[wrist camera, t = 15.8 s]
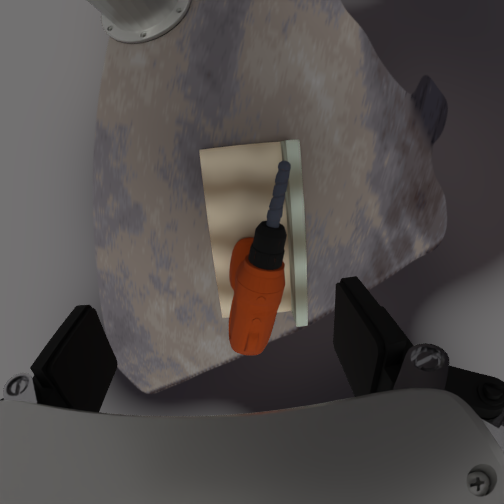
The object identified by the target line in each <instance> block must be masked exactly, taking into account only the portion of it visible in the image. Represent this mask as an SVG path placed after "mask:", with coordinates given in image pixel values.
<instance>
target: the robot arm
mask: <svg viewBox="0 0 504 504" xmlns="http://www.w3.org/2000/svg"><path fill="white" fill-rule="evenodd" d="M87 1H88V2H89V3H90V4H92V5H93V6H94V7H95V8H96V9H97V10H99V11H100V12H101V13H102V15H101V22H102V26H103V29H104V30H105V32H106V33H107V34H108V35H109V36H110V37H112V38H113V39H115V40H116V41H119V42H122V43H130V44H132V43H142V42H146V41H150V40H152V39H155V38H157V37H159V36H161V35H163V34H165V33H167V32H168V31H169V30H171V29H172V28H173V27H175V26H176V25H177V24H178V23H179V22H180V21H181V20H182V18H183V17H184V16H185V14H186V12H187V11H188V9H189V6H190V3H191V0H87ZM179 12H180V13H179ZM144 36H145V37H144ZM333 344H334V348H335V351H336V353H337V356H338V358H339V360H340V363H341V365H342V367H343V370H344V372H345V374H346V377H347V379H348V381H349V384H350V386H351V389H352V390H353V393H354V396H355V397H353V398H348V399H342V400H337V401H332V402H327V403H321V404H316V405H310V406H303V407H296V408H290V409H282V410H275V411H266V412H257V413H248V414H247V413H246V414H234V415H218V416H217V415H216V416H138V415H122V414H110V413H99V411H100V408H101V406H102V403H103V400H104V398H105V395H106V393H107V390H108V388H109V386H110V383H111V381H112V378H113V376H114V374H115V371H116V369H117V360H116V357H115V355H114V353H113V351H112V348H111V346H110V344H109V342H108V339H107V337H106V334H105V332H104V330H103V327H102V325H101V322H100V320H99V317H98V315H97V312H96V310H95V309H94V308H92V307H91V306H90V305H80V306H76V307H75V309H74V310H73V311H72V312H71V313H70V315H69V316H68V317H67V319H66V320H65V321H64V322H63V324H62V325H61V326H60V327H59V329H58V330H57V331H56V333H55V334H54V335H53V337H52V338H51V339H50V341H49V342H48V343H47V345H46V346H45V348H44V349H43V350H42V352H41V353H40V355H39V356H38V357H37V359H36V360H35V362H34V363H33V365H32V366H31V370H32V372H33V373H34V377H33V378H32V377H31V375H29V374H27V373H20V374H17V375H15V376H13V377H12V378H10V379H9V380H8V381H7V383H6V384H5V386H4V390H3V395H4V398H3V399H1V400H0V504H504V382H503V381H501V380H500V379H498V378H495V377H491V376H487V375H483V374H479V373H475V372H471V371H467V370H464V369H460V368H456V367H452V366H449V357H448V354H447V353H446V352H445V351H444V350H443V349H442V348H440V347H439V346H436V345H433V344H427V343H423V344H417V345H415V346H413V345H412V343H411V342H410V340H409V339H408V338H407V336H406V335H405V334H404V332H403V331H402V330H401V329H400V327H399V326H398V325H397V323H396V322H395V321H394V320H393V318H392V317H391V316H390V314H389V313H388V312H387V311H386V309H385V308H384V307H382V306H380V305H379V304H378V302H377V301H376V300H375V299H374V297H373V296H372V295H371V294H370V292H369V291H368V290H367V289H366V287H365V286H364V285H363V284H362V282H361V281H360V280H359V279H358V277H356V276H355V277H348V278H342V279H341V281H340V283H337V284H336V297H335V320H334V338H333Z"/></svg>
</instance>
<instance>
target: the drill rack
mask: <svg viewBox="0 0 504 504" xmlns="http://www.w3.org/2000/svg"><path fill="white" fill-rule="evenodd" d="M199 152H200V161H201V170H202V178H203V186H204V194H205V202H206V210H207V218H208V225H209V232H210V239H211V246H212V253H213V260H214V267H215V273H216V280H217V286H218V292H219V299H220V305H221V311H222V317H223V318H228V317H229V316H230V309H231V304H232V300H233V296H234V290H233V289H232V287H231V285H230V280H229V269H230V261H231V256H232V251H233V248H234V246H235V245H236V243H237V242H238V241H239V240H241V239H244V238H249V237H252V238H254V234H255V229H256V227H257V226H258V225H259V224H260V223H261V222H262V221H267V212H268V210H269V205H270V202H271V199H272V198H273V196H272V194H273V189H274V185H275V178H276V174H277V172H278V164H279V162H281V161H283V160H284V161H288V162H289V163H290V164H291V169H290V174H289V179H288V185H287V190H286V192H285V200H284V204H283V214H282V218H281V220H280V224H282V225H283V226H284V227H285V230H286V234H287V237H286V241H285V246H284V250H285V252H284V257H283V262H284V264H285V268H284V273H285V287H284V291H283V295H282V299H281V303H280V305H279V308H278V310H277V312H286V311H292V314H293V317H294V320H295V324H296V327H299V326H307V325H308V322H307V263H306V235H305V214H304V197H303V181H302V167H301V154H300V142H299V140H285V141H281V142H268V143H256V144H245V145H235V146H226V147H218V148H210V149H202V150H199Z"/></svg>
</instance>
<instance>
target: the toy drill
mask: <svg viewBox="0 0 504 504" xmlns="http://www.w3.org/2000/svg"><path fill="white" fill-rule="evenodd" d="M290 169H291V164H290V163H289V162H288V161H284V160H283V161H281V162H279V164H278V172H277V174H276V178H275V185H274V189H273V194H272V196H273V198H272V199H271V202H270V205H269V210H268V212H267V221H262V222H261V223H260V224H259V225H258V226H257V227H256V229H255V234H254V238H252V237H249V238H244V239H241V240H239V241H238V242H237V243H236V245H235V246H234V248H233V251H232V256H231V261H230V269H229V280H230V285H231V287H232V289H233V290H234V296H233V300H232V304H231V309H230V316H229V340H230V344H231V347H232V349H233V350H234V351H235V352H237V353H240V354H243V355H257V354H260V353H261V352H262V351H263V350H264V348H265V347H266V345H267V343H268V341H269V338H270V335H271V332H272V329H273V325H274V321H275V317H276V314H277V310H278V308H279V305H280V303H281V299H282V295H283V291H284V287H285V273H284V268H285V264H284V262H283V257H284V252H285V250H284V246H285V241H286V237H287V234H286V230H285V227H284V226H283V225H282V224H280V220H281V218H282V214H283V204H284V200H285V192H286V190H287V185H288V179H289V174H290Z"/></svg>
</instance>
